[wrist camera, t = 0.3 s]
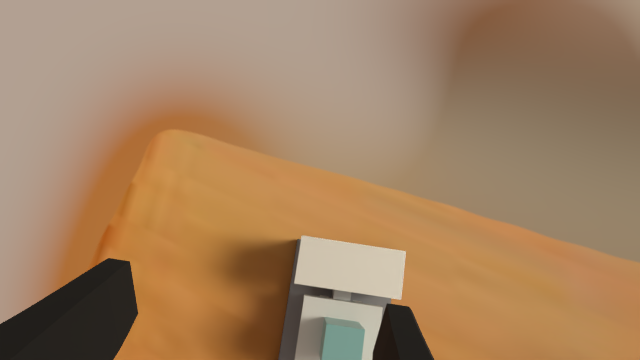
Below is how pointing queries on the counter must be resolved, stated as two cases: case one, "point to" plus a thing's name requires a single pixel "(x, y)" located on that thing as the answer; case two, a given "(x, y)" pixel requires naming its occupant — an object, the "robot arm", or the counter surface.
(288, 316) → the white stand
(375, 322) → the carriage
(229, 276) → the counter surface
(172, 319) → the counter surface
